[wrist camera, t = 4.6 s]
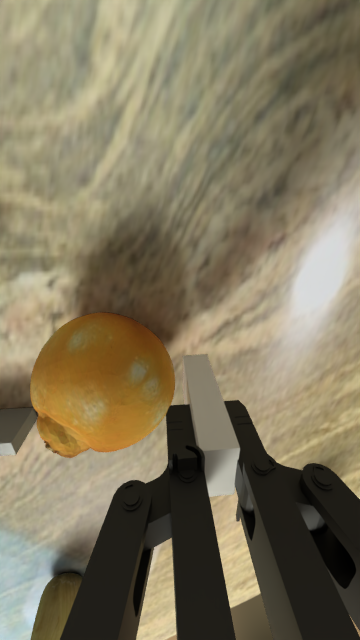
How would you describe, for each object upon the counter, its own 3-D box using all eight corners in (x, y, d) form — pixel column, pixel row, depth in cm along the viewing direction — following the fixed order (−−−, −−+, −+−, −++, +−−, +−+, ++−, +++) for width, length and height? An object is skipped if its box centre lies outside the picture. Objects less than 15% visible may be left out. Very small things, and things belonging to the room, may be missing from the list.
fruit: (93, 400, 21) (58, 501, 14) (39, 318, 18) (-45, 393, 10) (184, 369, 20) (198, 457, 13) (145, 278, 17) (135, 328, 10)
